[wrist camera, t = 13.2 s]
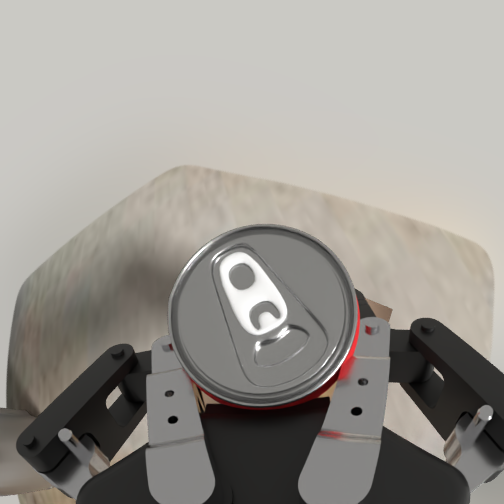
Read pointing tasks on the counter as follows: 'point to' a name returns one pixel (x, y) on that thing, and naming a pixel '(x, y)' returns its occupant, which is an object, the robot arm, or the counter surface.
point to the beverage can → (263, 317)
